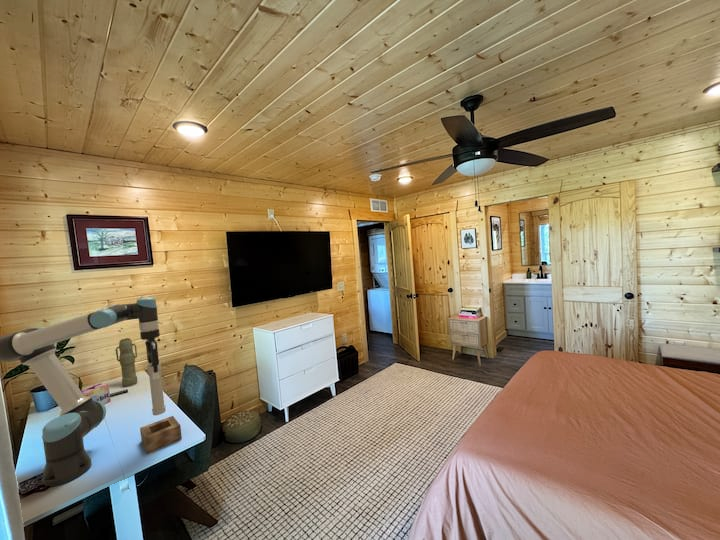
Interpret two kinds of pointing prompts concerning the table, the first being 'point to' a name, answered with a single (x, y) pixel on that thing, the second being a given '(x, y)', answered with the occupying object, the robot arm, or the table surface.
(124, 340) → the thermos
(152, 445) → the socket block
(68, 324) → the robot arm
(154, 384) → the cream tapered cylinder
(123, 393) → the multiport hub
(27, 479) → the table surface
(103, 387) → the gum box
